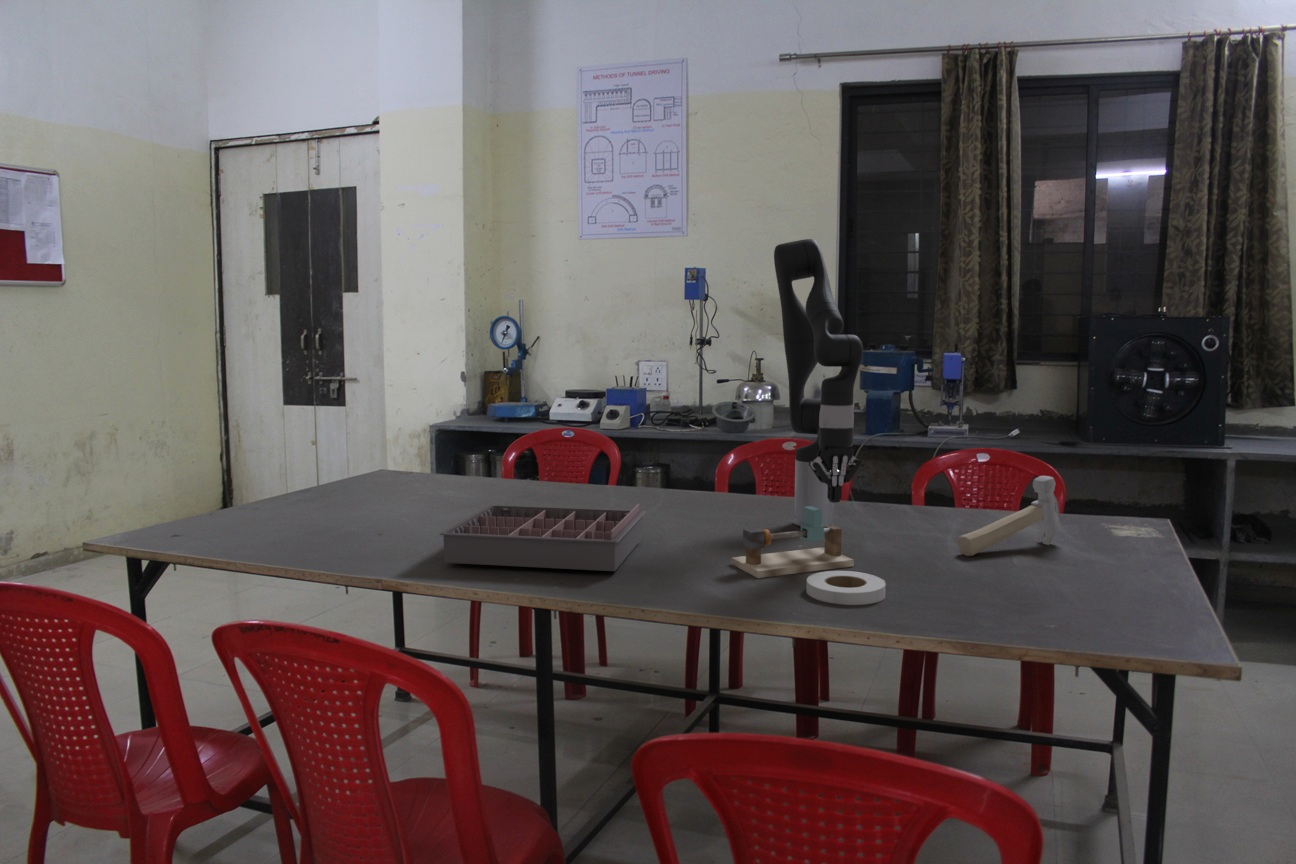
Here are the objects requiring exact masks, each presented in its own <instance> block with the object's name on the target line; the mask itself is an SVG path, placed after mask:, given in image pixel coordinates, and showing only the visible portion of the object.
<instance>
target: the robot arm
mask: <svg viewBox="0 0 1296 864" xmlns="http://www.w3.org/2000/svg"><path fill="white" fill-rule="evenodd" d="M773 261H774V262H773V264H774V268H775V269H774V271H775V275H776V276H775V277H776V283H777V288H778V294H779V300H780V306H781V307H780V308H781V316H782V317H781V318H782V320H781V321H782V332H783V333H782V334H783V344H784V352H785V353H784V354H785V360H786V368H787V376H788V393H789V394H788V396H789V397H788V399H789V402H788V403H789V420H790V426H791V429H792V431H793V432H795V433H797V434H804V435H817V437H816V438H817V439H816V440H815V441H814V442H812V443H811V444H808V445H803V446H801V447H798V448H797V449H795V454H794V455H795V457H794V458H795V459H794V460H795V461H794V463H795V464H794V465H795V466H794V509H793V510H794V511H793V513H794V514H793V515H794V517H793V521H794V522H793V524H794V525H796V526H798V527H801V524H803V508H804V507H808V506H812V507H815V508H818V509H821V510H822V525H823V526H824V528H825V526H831V525H833V526H834V504H835V503H840V501H841V499H842V494H843V492H842V491H843V485H844V484H847V483H850V481H851V480H852V479H853V477H854V476H855V474H856V473H857V472H858V470H859V469H860V466H861V465H862V462H863V461H862V459H858V458H856V457H855V456H854V451H853V449H852V448H853V446H854V428H855V427H854V425H855V424H854V423H855V421H854V420H855V413H854V387H855V384H856V383H855V382H856V379H857V374H858V372H859V368H860V365H861V363H862V359H863V355H864V346H863V342H862V340H861V339H860V337H858V336H857V335H855V334H841V333H842V332H843V331H844V327H845V324H844V320H843V317H842V315H841V313H840V310H839V308H838V305H837V304H836V302H835V299H834V295H833V291H832V287H831V282H830V280H829V274H828V272H827V271H828V270H827V267H826V264H825V263H826V262H825V259H824V256H823V253H822V250H821V248H820V245H819V244H818V242H817V240H815V239H812V238H805V239H798V240H794V241H789V242H785V243H779V244H777V245H776V246H775V247H774V252H773ZM812 277H813V284H812V287H811V289H810V291H809V293H808V296H807V298H806V301H805V306H804V304H803V303H801V301H800V299H799V297H797V295H796V292H795V290H794V287H793V281H798V280H805V279H809V278H812ZM818 364H819V365H821V366H822V367H829V368H831V367H833V368H834V367H840V368H841V369H840V371H839V373H838V374H836V375H834V376H831V377H826V378H824V379H823V380H822V382H821V386H820V387H821V388H820V391H821V392H820V398H806V397H805V388H806V383H807V381H808V380H809V377H810V376H811V374H812V373H813V371H814V370H815V368H816V366H817V365H818Z"/></svg>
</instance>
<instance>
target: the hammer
mask: <svg viewBox="0 0 1296 864" xmlns="http://www.w3.org/2000/svg"><path fill="white" fill-rule="evenodd" d="M1056 485H1057V484H1056V480H1055V478H1054V477H1053V476H1050V475H1039V476H1038V477H1036V478H1034V479H1033V482H1032V487H1033V491H1034V493H1037V494H1038V497H1037V500H1034V501H1032V502H1031V503H1030V504H1031V505H1028V506H1027V507H1025V508H1023V509H1021V510H1018V511H1016V512H1013V513H1011V514H1009V515H1007V516H1004V517H1002V518H1000V519H998V520H996V521H994V522H992V523H990V524H988V525H985V526H983V527H980V528H979V529H977V530H973V531H970V532H968V533H965V534H961V535H959V536H958V539H957V545H958V549H959V551H960V553H961V554H963V555H964V556H966V557H972V556H974V555H976V554H979V553H980V552H982V551H984V550H987V549H988V548H990V547H991V546H995V545H996V544H999V543H1001V542H1003V541H1005V540H1006V539H1009V538H1010V537H1011V536H1013V535H1015V534H1017V533H1019V532H1020V531H1022V530H1024V529H1026V528H1027V527H1029V526H1031V525H1034V524H1035V523H1039V525H1038V528H1037V529H1038V531H1037V535H1036V537H1035V539H1034V542H1036V543H1041V542H1042V544H1043V545H1047V546H1050V545H1051V543H1052V542H1053V541H1054V539H1055V538H1056V536H1057V533H1058V531H1059V523H1060V508H1059V507H1060V506H1059V501H1058V499H1057V496H1055V494H1054V491H1056V490H1055V489H1056Z"/></svg>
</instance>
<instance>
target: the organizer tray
mask: <svg viewBox="0 0 1296 864" xmlns="http://www.w3.org/2000/svg"><path fill="white" fill-rule="evenodd" d="M646 513H647V511H646V510H640V503H637V504H636V505H635V506H634V507H633V508H632V509H609V508H585V507H582V508H581V507H560V506H559V507H555V506H554V507H553V506H533V505H532V506H531V505H530V506H529V505H510V504H507V505H506V504H505V505H503V504H490V505H488V506H486V507H484V508H483V509H481V510H479V511H477V512H475V513H474V514H472V515H470V516H469V517H466V518H465V519H463V520H462V521H459V522H458V523H456V524H454V525H453V526H451V527H449V528H447V529H445V530H444V531H442V532H440V533H439V536H442V537H443V563H444V564H445V563H447V564H464V565H465V564H466V565H485V566H503V567H505V566H506V567H523V568H525V567H526V568H543V569H544V568H545V569H564V570H565V569H566V570H580V571H582V570H583V571H585V570H586V571H605V572H606V571H607V572H616V571H617V570H618V568H619V567H620V566H621V565H622V563H623V562H624V561H625V560H626V558H628V557H629V555H630V553H632V551H633V550H634V549H635V548H636V546H637V545H638V544H639V542H641V541H642V539H643V531H644V530H643V529H644V528H643V527H644V524H643V523H644V521H643V520H644V518H643V517H644V515H645V514H646Z"/></svg>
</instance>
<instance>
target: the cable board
mask: <svg viewBox="0 0 1296 864" xmlns="http://www.w3.org/2000/svg"><path fill="white" fill-rule="evenodd" d="M842 530H843V529H842V527H838V526H836V525H834V524H833V525H829V526H825V527H824V547H814V548H813V547H812V548H805V549H804V548H803V549H795V550H787V551H780V552H779V551H778V552H771V553H770V552H769V553H762V549H764V548H765V546H769V545H771V543H772V540H778V539H785V538H787V539H788V538H795V537H801V536H807V530H803V531H801V530H795V531H786V532H785V531H784V532H777V533H776V532H775V533H771V531H770V530H769V529H766V528H765V529H763V528H762V529H759V528H757V527H751V528H743V530H742V532H743V533H742V546H744V547H745V555H743V556H733V557H731V559H730V560H731V561H730V562H731V566H734V567H736V568H738V569H739V570H741V571H744V572H745V573H747V574H749V575H751V576H753V577H755V578H757V579H761V578H769V577H778V576H785V575H792V574H802V573H810V572H811V573H812V572H818V571H829V570H832V569H833V570H834V569H841V568H843V569H844V568H851V567H854V566H855V565H854V564H855V560H854V558H850V557H848V556H846V555H844V554H842Z"/></svg>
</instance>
